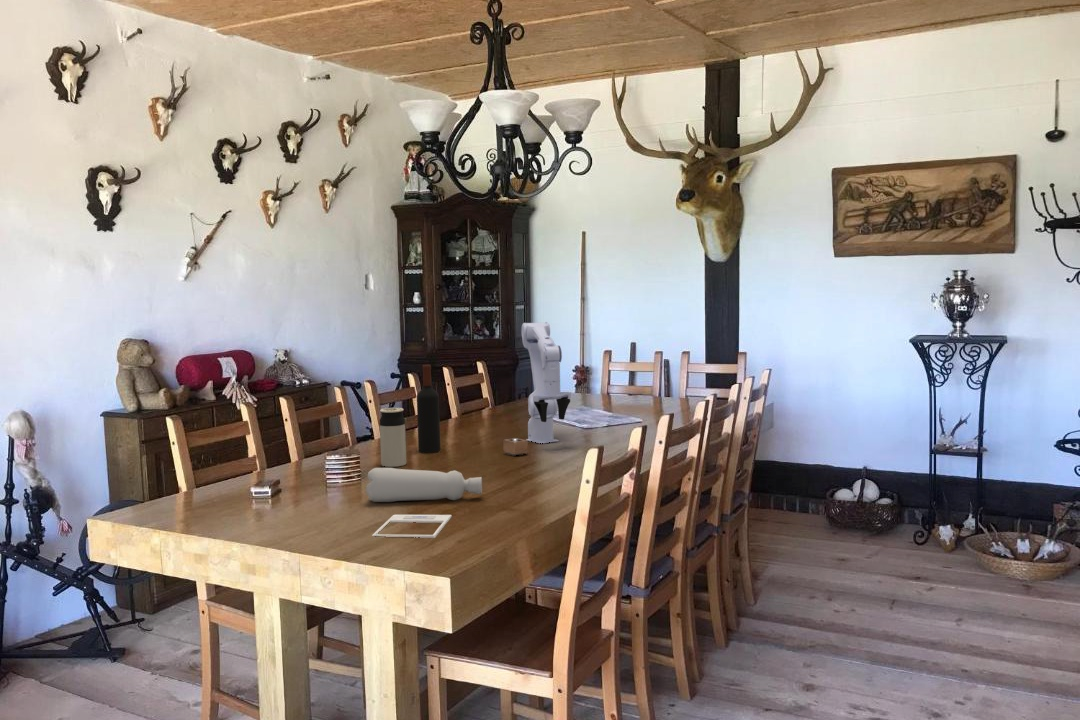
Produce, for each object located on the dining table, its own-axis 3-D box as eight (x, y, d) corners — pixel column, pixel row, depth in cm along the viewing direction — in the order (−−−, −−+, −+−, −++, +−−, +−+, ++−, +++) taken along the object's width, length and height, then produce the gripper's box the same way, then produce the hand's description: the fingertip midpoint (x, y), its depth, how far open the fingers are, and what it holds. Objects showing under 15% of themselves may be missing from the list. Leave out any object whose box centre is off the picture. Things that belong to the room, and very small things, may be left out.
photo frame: (451, 514, 216) (434, 534, 198) (451, 518, 216) (434, 539, 198) (393, 513, 218) (371, 534, 200) (393, 518, 218) (372, 539, 200)
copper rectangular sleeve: (503, 451, 295) (503, 439, 295) (516, 449, 298) (515, 437, 298) (515, 454, 289) (514, 442, 289) (528, 452, 292) (527, 440, 292)
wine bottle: (414, 452, 301) (411, 365, 298) (425, 448, 308) (422, 363, 305) (433, 453, 298) (430, 366, 295) (444, 449, 305) (441, 363, 302)
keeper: (505, 454, 294) (504, 438, 294) (517, 452, 297) (517, 437, 297) (513, 456, 290) (513, 440, 290) (526, 454, 293) (525, 439, 293)
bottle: (364, 495, 227) (480, 495, 227) (367, 462, 231) (481, 463, 232) (369, 506, 235) (481, 507, 235) (373, 475, 239) (482, 475, 240)
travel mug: (381, 468, 276) (379, 411, 275) (380, 463, 284) (378, 408, 282) (407, 466, 278) (405, 410, 276) (405, 461, 285) (403, 407, 284)
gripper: (541, 383, 292) (542, 424, 293) (575, 380, 300) (576, 419, 302) (529, 382, 298) (530, 421, 299) (563, 378, 306) (564, 417, 307)
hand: (552, 420), depth 301 cm, fingers open, 7 cm apart
